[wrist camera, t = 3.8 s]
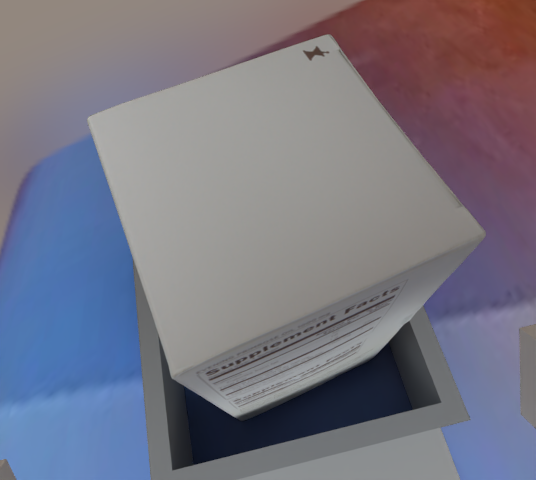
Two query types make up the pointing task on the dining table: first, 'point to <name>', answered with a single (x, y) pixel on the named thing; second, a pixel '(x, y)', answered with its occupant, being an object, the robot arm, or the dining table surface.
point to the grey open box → (323, 444)
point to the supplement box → (277, 223)
